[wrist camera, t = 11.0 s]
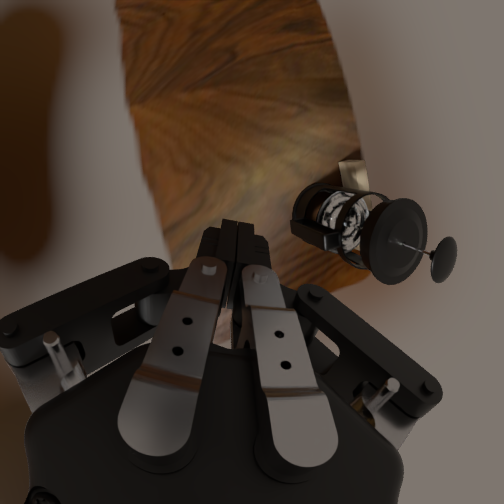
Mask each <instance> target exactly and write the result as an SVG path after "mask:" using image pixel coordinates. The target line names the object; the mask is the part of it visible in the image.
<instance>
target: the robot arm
mask: <svg viewBox="0 0 504 504" xmlns="http://www.w3.org/2000/svg"><path fill="white" fill-rule="evenodd" d="M237 223H238V226H237ZM227 296H228V298H227ZM226 301H227V308H228V309H232V317H231V321H230V334H231V349H227V348H224V347H221V346H219V345H216V344H213V339H214V335H215V330H216V325H217V320H218V317H219V316H220V313H221V308H225V306H226ZM131 304H135V307H134V308H132V309H130V310H128V311H126V312H124V313H122V314H120V315H118V316H116V317H114V318H112V317H113V315H114V314H115V313H116V312H117V311H119V310H121V309H123V308H125V307H127V306H129V305H131ZM318 330H320V331H321V332H323V333H324V334H325V335H326V336H327V337H328V338H330V339H331V340H332V341H333V342H334V343H335V344H336V345H337V346H338V348H339V350H340V355H339V357H338V356H336V355H335V354H334V353H333V352H331V350H330V349H328V348H327V347H326V346H325V345H324V344H323V343H322V342H320V341H319V340H318V339H317V338H316V337H315V335H316V333H317V331H318ZM152 337H153V338H152ZM150 338H152V340H151V343H148V344H144V345H141V346H139V345H140V344H142V343H144V342H145V341H147V340H149V339H150ZM137 346H139V347H137ZM135 347H136V348H135ZM133 348H134V349H133ZM132 349H133V350H132ZM130 350H131V351H130ZM0 351H1V353H2V354H3V356H4V359H5V361H6V362H7V364H8V365H9V367H10V368H11V370H12V371H13V373H14V374H15V376H16V378H17V381H18V383H19V385H20V388H21V390H22V392H23V394H24V397H25V399H26V401H27V403H28V405H29V407H30V409H31V411H32V413H33V414H32V415H31V416H30V418H29V420H28V422H27V425H26V428H25V434H24V444H25V450H26V455H27V460H28V467H29V492H28V496H27V498H26V501H25V503H24V504H397V502H398V497H399V492H400V488H401V485H402V481H403V475H404V468H403V462H402V459H401V456H400V454H399V452H398V449H399V448H400V447H401V445H402V443H403V442H404V441H405V439H406V437H407V436H408V434H409V433H410V431H411V430H412V428H413V426H414V425H415V423H416V422H417V421H418V420H419V419H420V418H422V417H423V416H424V415H425V414H426V413H428V412H429V411H430V410H431V409H432V408H433V407H434V406H436V405H437V404H438V403H439V402H440V401H441V399H442V395H443V392H442V388H441V385H440V384H439V382H438V381H437V379H436V378H435V377H433V376H432V375H431V374H430V373H429V372H427V371H426V370H425V369H424V368H422V367H421V366H420V365H419V364H418V363H416V362H415V361H414V360H413V359H411V358H410V357H409V356H407V355H406V354H405V353H404V352H403V351H402V350H400V349H399V348H398V347H397V346H395V345H394V344H393V343H391V342H390V341H389V340H388V339H387V338H385V337H384V336H383V335H382V334H380V333H379V332H378V331H377V330H375V329H374V328H373V327H372V326H370V325H369V324H368V323H367V322H365V321H364V320H363V319H362V318H360V317H359V316H358V315H356V314H355V313H354V312H353V311H352V310H350V309H349V308H348V307H347V306H345V305H344V304H343V303H341V302H340V301H339V300H338V299H336V298H335V297H334V296H333V295H331V294H330V293H329V292H328V291H326V290H325V289H323V288H322V287H320V286H317V285H313V284H304V285H301V286H300V287H299V288H298V290H297V291H295V290H293V289H290V288H287V287H285V286H283V285H281V284H280V283H279V280H278V277H277V275H276V273H275V272H274V271H273V270H272V269H271V261H270V255H269V246H268V242H267V240H266V239H265V238H264V237H263V236H260V235H254V224H250V223H244V222H238V221H233V220H227V219H222V225H221V229H220V228H215V227H209V228H207V229H206V230H205V231H204V232H203V236H202V239H201V243H200V246H199V249H198V253H197V256H196V258H195V259H193V260H192V262H191V263H190V266H189V267H187V268H184V269H177V270H169V265H168V264H167V263H166V262H165V261H163V260H162V259H159V258H155V257H145V258H141V259H138V260H136V261H133V262H131V263H128V264H126V265H123V266H121V267H118V268H116V269H113V270H111V271H108V272H106V273H103V274H101V275H98V276H96V277H94V278H91V279H89V280H87V281H84V282H82V283H79V284H77V285H75V286H72V287H70V288H67V289H65V290H63V291H61V292H58V293H56V294H53V295H51V296H49V297H46V298H44V299H42V300H40V301H38V302H35V303H33V304H31V305H28V306H26V307H24V308H22V309H20V310H17V311H15V312H13V313H11V314H9V315H7V316H5V317H3V318H2V319H1V320H0ZM128 351H129V352H128ZM127 352H128V353H127ZM125 353H126V354H125ZM123 354H124V355H123ZM121 355H123V356H121ZM120 356H121V357H120ZM118 357H120V358H118ZM116 358H118V359H116ZM114 359H116V360H115V361H113V360H114ZM111 361H113V362H112V363H110V364H108V365H107V366H105V367H103V368H102V369H100V370H99V371H97V372H95V373H94V374H92V375H90V376H89V377H87V375H88V374H90V373H91V372H93V371H95V370H97V369H98V368H100V367H102V366H104V365H106V364H107V363H109V362H111Z"/></svg>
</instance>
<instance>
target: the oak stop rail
mask: <svg viewBox="0 0 504 504" xmlns="http://www.w3.org/2000/svg"><path fill="white" fill-rule="evenodd" d="M338 163H339V168H340V173H341V179H342V184H343V187H345V188H351V189H358V190H364V191H370V189H369V183H368V176H367V170H366V165H365V160H346V161H341V162H338ZM363 200H364V201H365V203H366V205H367V208H368V210H370V211H372V204H371V196H370V195H367V196H364V197H363ZM359 245H360V244H359ZM359 245H358V246H357V247H356V248H355V249H357V250H359V251H360V247H359Z"/></svg>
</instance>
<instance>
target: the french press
mask: <svg viewBox="0 0 504 504" xmlns="http://www.w3.org/2000/svg"><path fill="white" fill-rule="evenodd" d="M318 192H328V193H330V194H332V195H330V196H329V197H328V198H327V199H326V200H325V201H324V202H323V204H322V205H321V207H320V209H319V212H318V214H317V218H316V222H315V221H312V220H310V219H307V218H305V216H306V211H307V208H308V205H309V203H310V201H311V200H312V198H313V197H314V196H315V195H316V194H317V193H318ZM371 194H375V195H376V196H378V197H380V198H381V199H382V200H383V201H384V202H382V203H380V204H378V205H377V206H376V207H375V208H374V209H373V210H372V211H370V210H368V208H367V205H366V203H365V201H364V200H363V197H364V196H367V195H371ZM290 225H291V233H292V234H294V235H296V236H298V237H300V238H301V239H302V240H303V241H305V242H307V243H309V244H312V245H314V246H316V247H318V248H320V249H322V250H324V251H328V250H329V251H331V252H333V253H337V254H339V255H340V257H341V258H342V259H343V260H344V261H345V262H347V263H348V264H350V265H352V266H354V267H355V268H358V269H368V270H370V271H371V272H372V274H373V275H374V277H376V279H377V280H379V281H380V282H382V283H384V284H387V285H394V284H397V283H400V282H402V281H404V280H405V279H406V278H407V277H409V276H410V275H411V274H412V273H413V272H414V270H415V269H416V267H417V266H418V264H419V263H420V261H421V259H422V256H423V254H426V255H429V258H430V260H432V263H431V276H432V279H433V281H435V282H436V283H441V282H443V281H444V280H446V279H447V278H448V276H449V275H450V273H451V272H452V270H453V268H454V265H455V262H456V257H457V245H456V242H455V240H454V239H453V238H452V237H446V238H444V239H443V240H442V241H441V242H440V243H439V244H438V246H437V248H436V250H435V251H434V250H433V251H431V252H428V251H426V250H425V247H426V242H427V222H426V218H425V214H424V212H423V210H422V209H421V207H420V206H419V205H418V204H417V203H416V202H415V201H413V200H410V199H407V198H399V199H396V200H389V199H388V198H387V197H386V196H384V195H382V194H379V193H375V192H370V191H364V190H358V189H351V188H345V187H338V186H333V185H330V184H327V183H316V184H312V185H310V186H308V187H307V188H305V189H304V190H303V191H302V192H301V193H300V194H299V196H298V197H297V199H296V201H295V204H294V207H293V212H292V220H290ZM359 244H360V245H359ZM358 245H359V247H360V255H361V256H359V255H357V254H355V253H353V252H351V251H352V250H353V249H355V248H356V247H357V246H358ZM349 260H350V261H352V262H354V263H356V264H352V263H351V262H350V261H349Z"/></svg>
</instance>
